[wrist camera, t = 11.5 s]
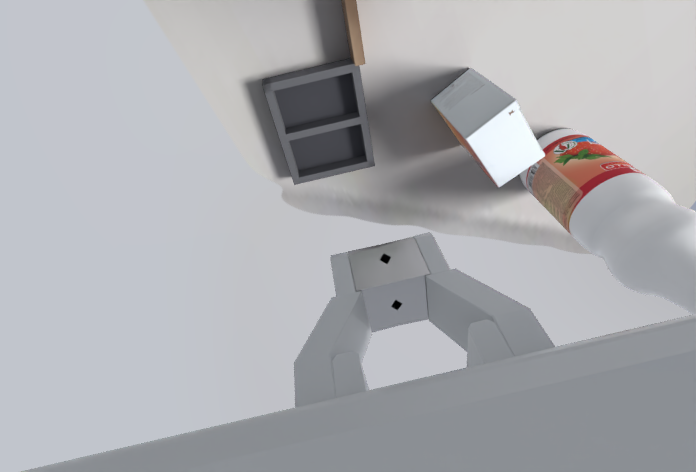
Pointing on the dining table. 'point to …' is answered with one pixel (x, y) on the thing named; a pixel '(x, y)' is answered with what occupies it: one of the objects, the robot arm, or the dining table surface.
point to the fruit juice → (617, 215)
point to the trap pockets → (321, 120)
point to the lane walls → (353, 31)
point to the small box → (489, 126)
